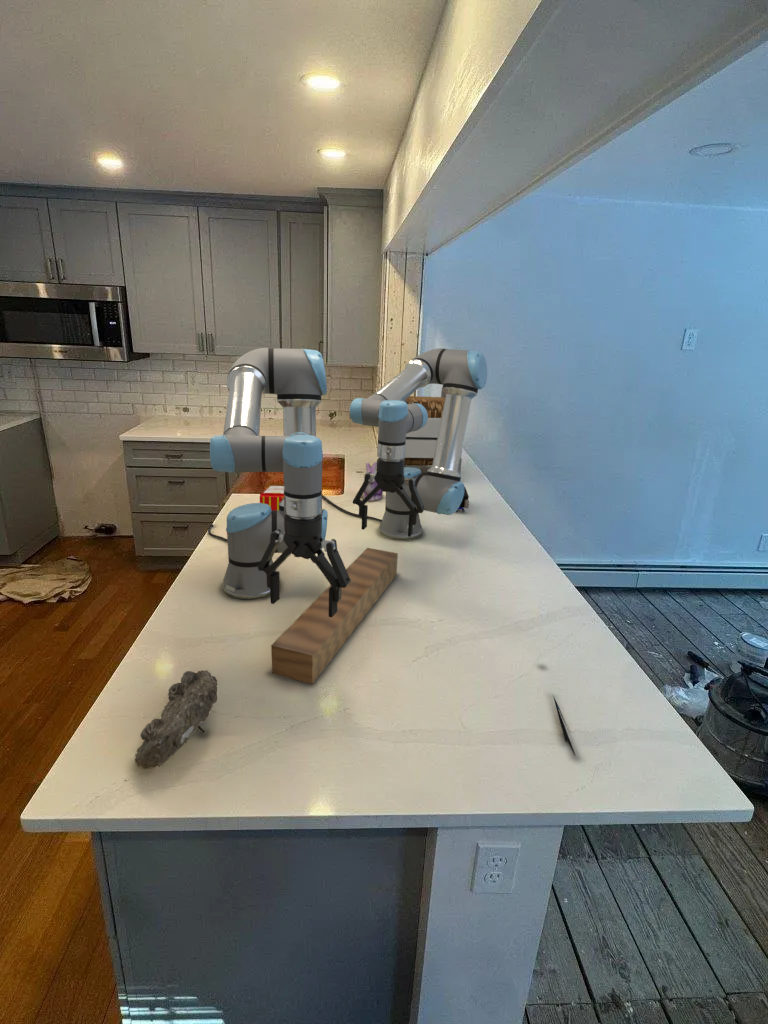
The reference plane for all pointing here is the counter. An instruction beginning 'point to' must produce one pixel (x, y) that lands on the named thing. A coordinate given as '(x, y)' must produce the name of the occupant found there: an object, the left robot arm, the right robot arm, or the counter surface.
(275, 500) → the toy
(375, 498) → the figurine
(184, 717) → the fossil
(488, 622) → the counter surface
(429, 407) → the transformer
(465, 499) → the figurine character
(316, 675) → the thick board
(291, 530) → the left robot arm
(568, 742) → the feather
